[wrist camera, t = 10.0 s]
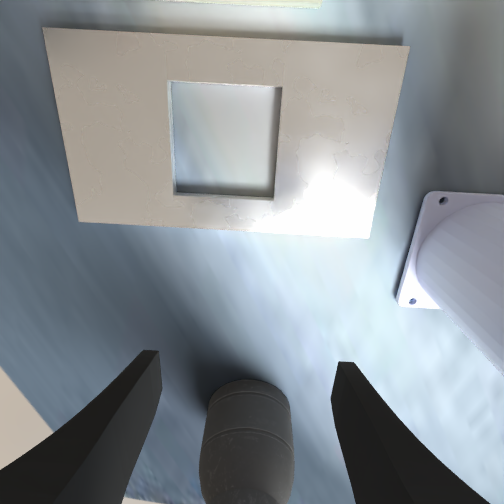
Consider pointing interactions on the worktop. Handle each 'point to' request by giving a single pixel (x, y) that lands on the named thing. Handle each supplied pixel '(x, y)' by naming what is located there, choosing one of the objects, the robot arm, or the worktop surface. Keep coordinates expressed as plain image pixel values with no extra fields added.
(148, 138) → the rail plate
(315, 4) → the tile
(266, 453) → the flashlight
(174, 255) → the worktop surface
